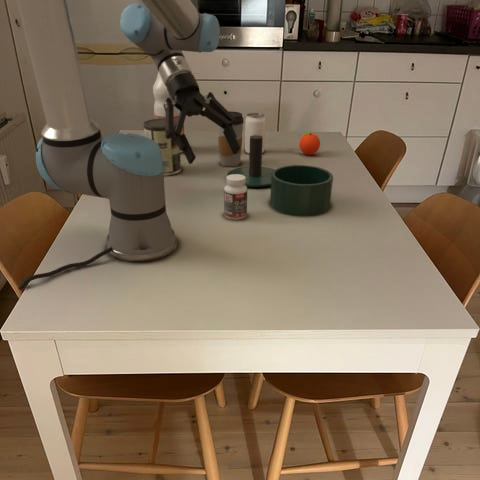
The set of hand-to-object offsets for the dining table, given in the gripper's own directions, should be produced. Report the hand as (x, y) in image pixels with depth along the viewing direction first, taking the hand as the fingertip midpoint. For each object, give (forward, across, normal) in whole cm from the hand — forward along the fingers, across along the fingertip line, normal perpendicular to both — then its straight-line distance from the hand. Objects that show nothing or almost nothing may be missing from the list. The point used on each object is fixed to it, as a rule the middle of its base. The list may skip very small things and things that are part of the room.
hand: (215, 156), depth 127 cm
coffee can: (-13, +3, +32) cm, 35 cm away
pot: (+18, +18, 0) cm, 26 cm away
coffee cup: (-9, +24, +27) cm, 37 cm away
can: (-12, +38, +31) cm, 50 cm away
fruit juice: (-25, +16, +43) cm, 52 cm away
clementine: (-4, +51, +22) cm, 56 cm away
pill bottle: (+15, 0, +3) cm, 16 cm away
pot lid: (+2, +21, +16) cm, 26 cm away
